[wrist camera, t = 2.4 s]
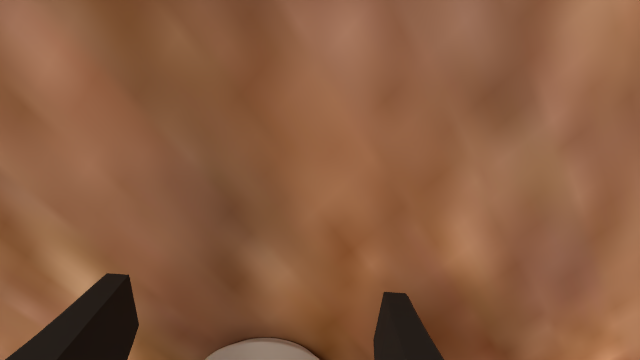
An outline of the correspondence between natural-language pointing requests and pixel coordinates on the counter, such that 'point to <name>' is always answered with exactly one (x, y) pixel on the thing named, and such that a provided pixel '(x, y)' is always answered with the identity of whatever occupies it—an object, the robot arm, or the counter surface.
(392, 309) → the robot arm
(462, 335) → the counter surface
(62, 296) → the counter surface
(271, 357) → the beverage can
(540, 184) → the counter surface
